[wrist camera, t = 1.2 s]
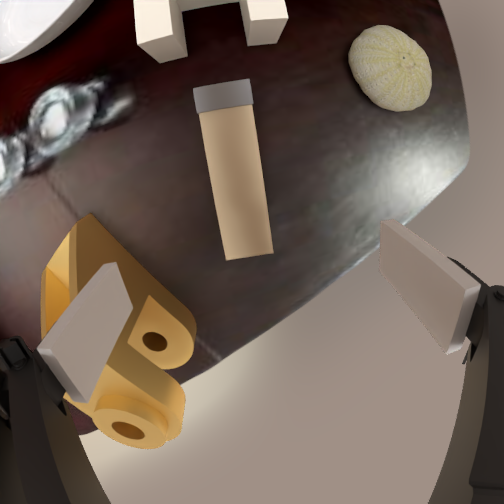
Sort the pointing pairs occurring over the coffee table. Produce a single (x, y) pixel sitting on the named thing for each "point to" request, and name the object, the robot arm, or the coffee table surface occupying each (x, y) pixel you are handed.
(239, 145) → the rail
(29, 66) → the coffee table surface
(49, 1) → the serving bowl
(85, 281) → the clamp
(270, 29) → the white notched block
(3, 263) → the coffee table surface
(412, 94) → the sea urchin shell
